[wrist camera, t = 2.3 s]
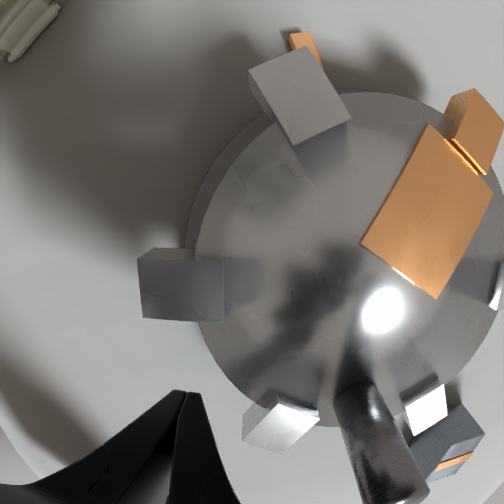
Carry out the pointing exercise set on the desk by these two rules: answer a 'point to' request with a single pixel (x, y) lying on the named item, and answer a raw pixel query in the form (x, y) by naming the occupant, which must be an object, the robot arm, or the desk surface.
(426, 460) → the banded grey cube
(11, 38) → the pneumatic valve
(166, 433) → the robot arm
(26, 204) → the desk surface
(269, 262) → the sprocket
